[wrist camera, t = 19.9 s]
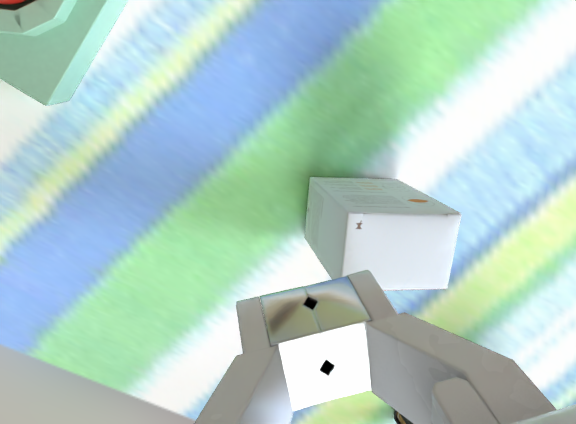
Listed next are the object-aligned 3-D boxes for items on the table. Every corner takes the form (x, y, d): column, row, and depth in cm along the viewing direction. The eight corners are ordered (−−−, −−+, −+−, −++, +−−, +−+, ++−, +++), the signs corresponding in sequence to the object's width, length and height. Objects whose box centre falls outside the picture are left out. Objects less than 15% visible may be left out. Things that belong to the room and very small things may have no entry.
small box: (302, 237, 39) (336, 294, 29) (308, 174, 37) (345, 211, 28) (389, 238, 41) (449, 292, 31) (398, 177, 39) (464, 214, 29)
